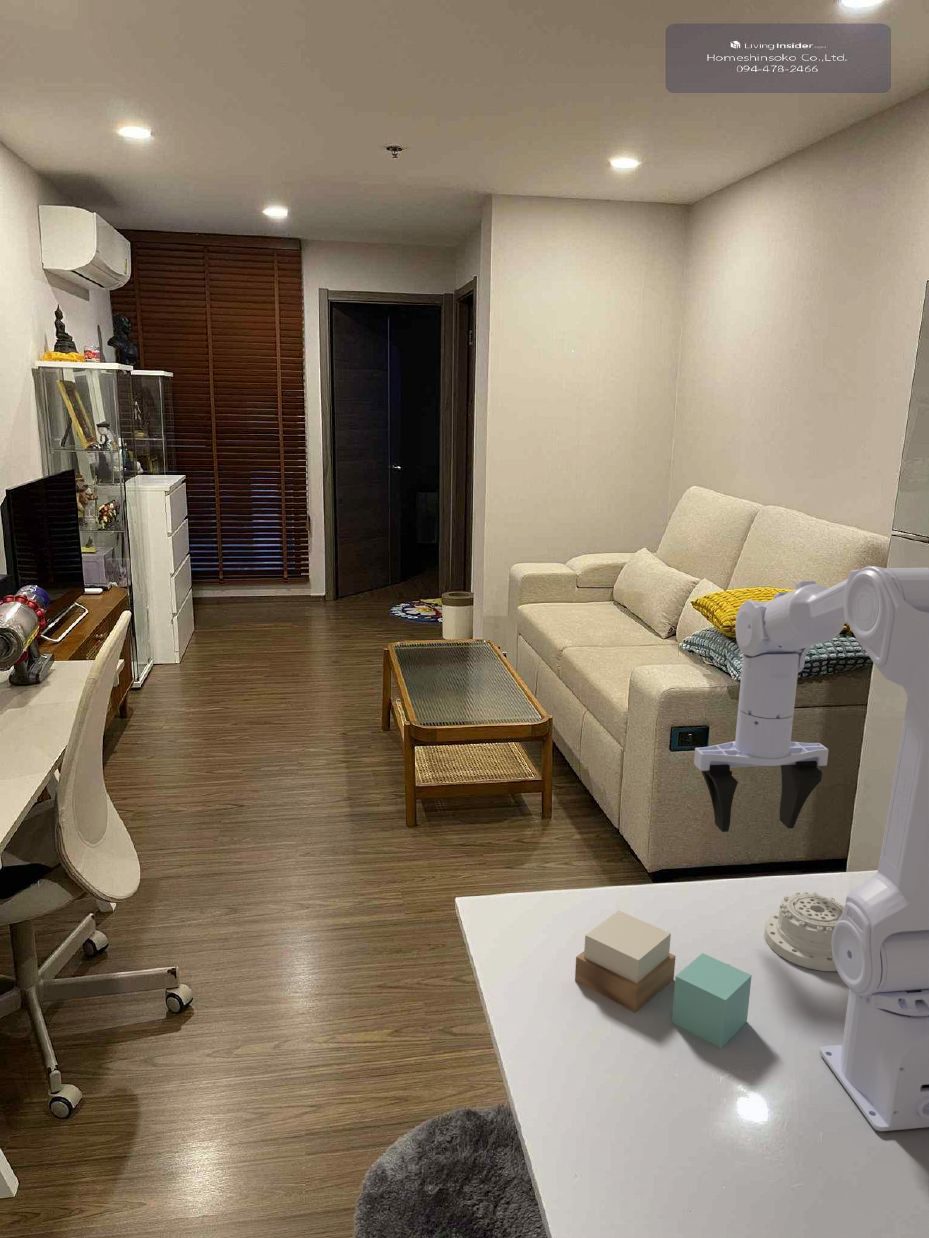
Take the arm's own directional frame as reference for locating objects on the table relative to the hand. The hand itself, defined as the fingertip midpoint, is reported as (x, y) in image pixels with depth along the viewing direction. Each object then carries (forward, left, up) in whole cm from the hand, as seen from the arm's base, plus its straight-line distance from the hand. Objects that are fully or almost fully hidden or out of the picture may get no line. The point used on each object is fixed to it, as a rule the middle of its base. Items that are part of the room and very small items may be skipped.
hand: (754, 826), depth 104 cm
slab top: (-12, +18, -7) cm, 23 cm away
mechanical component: (-8, -4, -10) cm, 14 cm away
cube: (-19, +12, -10) cm, 24 cm away
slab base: (-12, +18, -10) cm, 24 cm away
